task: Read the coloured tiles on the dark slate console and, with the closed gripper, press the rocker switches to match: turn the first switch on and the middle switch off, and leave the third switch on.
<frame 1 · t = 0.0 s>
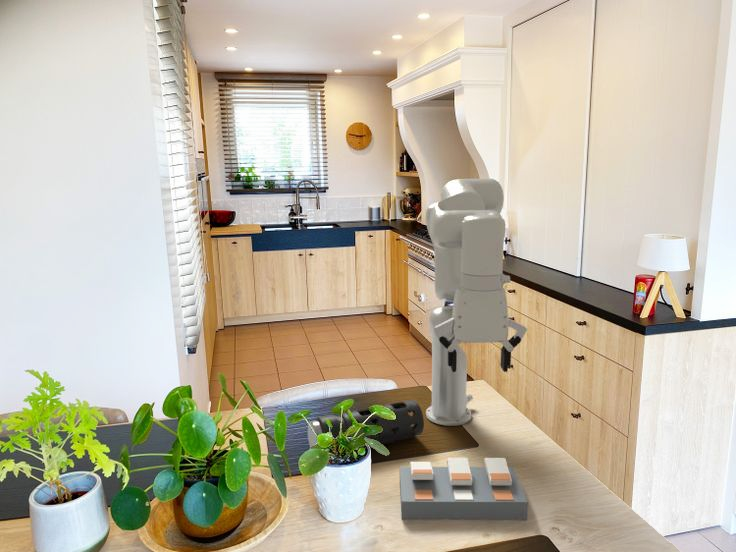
hand: (478, 369, 107), 31 cm above the table, tool pointing down, fingers open, 9 cm apart
switch 3: (497, 473, 119), point 5 cm above the table, hinge at 10.0°
switch 2: (459, 473, 119), point 5 cm above the table, hinge at 10.0°
switch 1: (421, 472, 119), point 5 cm above the table, hinge at -10.0°
muzzle brake: (366, 448, 141), on the table
console: (459, 500, 119), on the table
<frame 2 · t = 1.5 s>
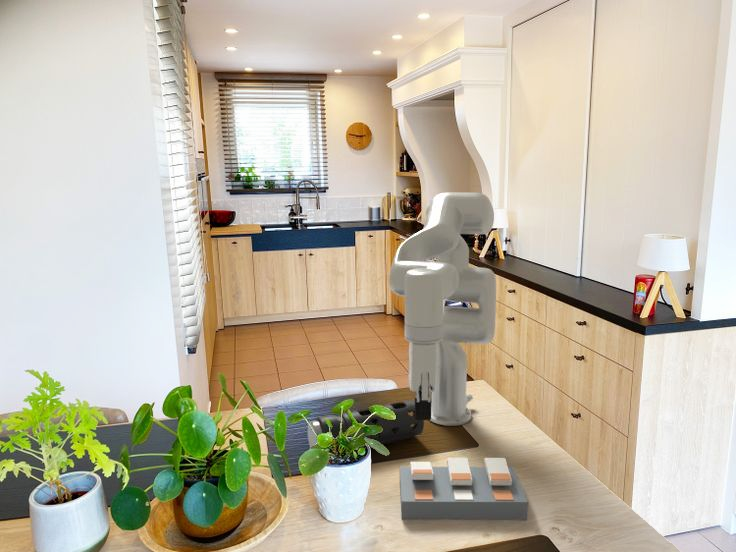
hand: (422, 417, 114), 19 cm above the table, tool pointing down, fingers closed
nothing on the table moved.
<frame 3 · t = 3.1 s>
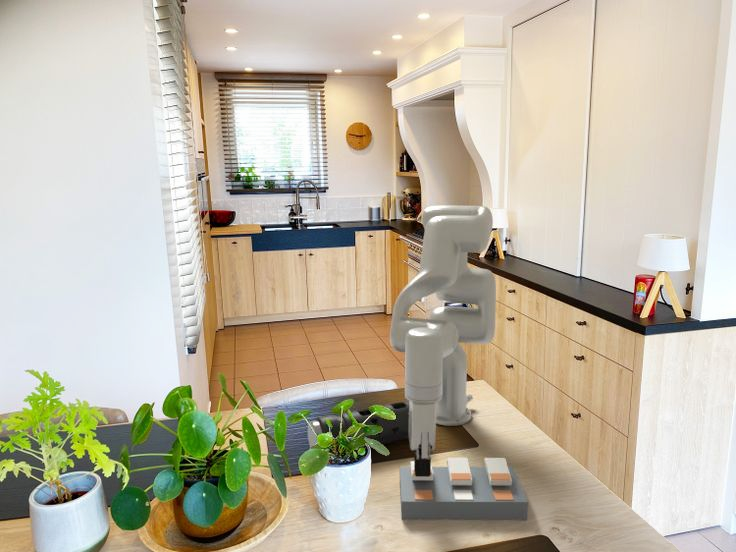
hand: (422, 473, 116), 7 cm above the table, tool pointing down, fingers closed
switch 1: (421, 472, 119), point 5 cm above the table, hinge at -8.1°, touching gripper
everything else where it was.
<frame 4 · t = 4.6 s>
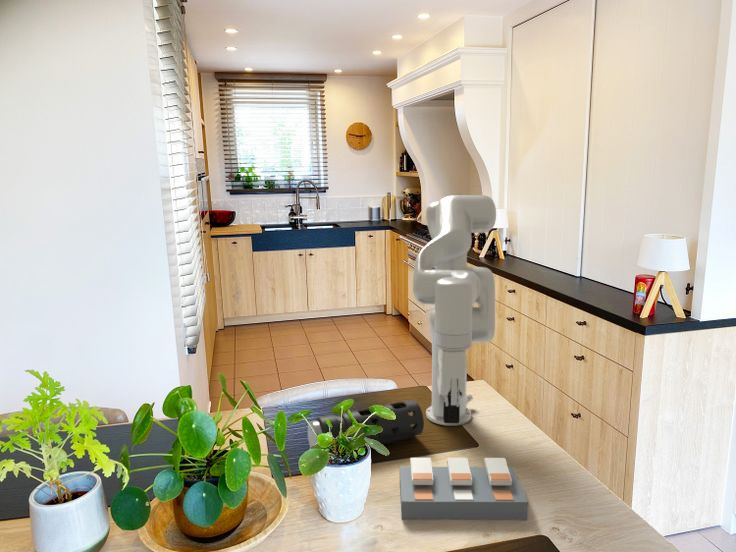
hand: (451, 421, 118), 17 cm above the table, tool pointing down, fingers closed
switch 1: (421, 472, 119), point 5 cm above the table, hinge at 9.6°
everything else where it was.
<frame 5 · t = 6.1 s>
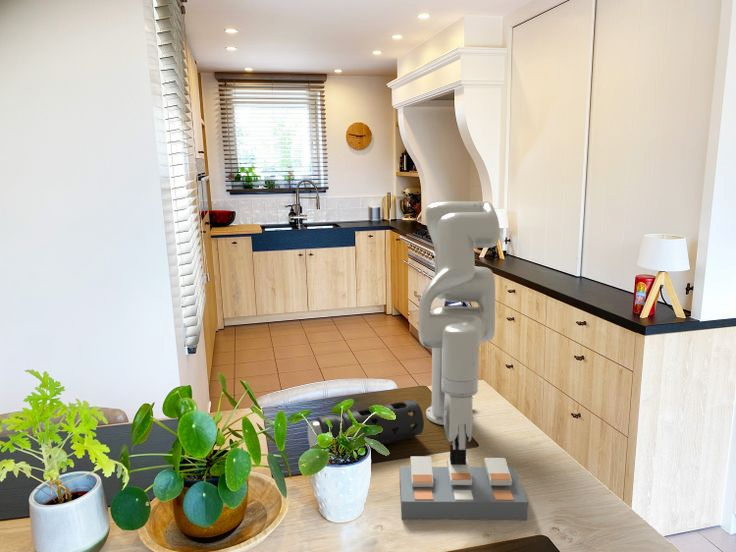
hand: (457, 463, 121), 7 cm above the table, tool pointing down, fingers closed
switch 2: (459, 473, 119), point 5 cm above the table, hinge at 8.9°, touching gripper
switch 1: (421, 473, 119), point 5 cm above the table, hinge at 18.8°
everything else where it was.
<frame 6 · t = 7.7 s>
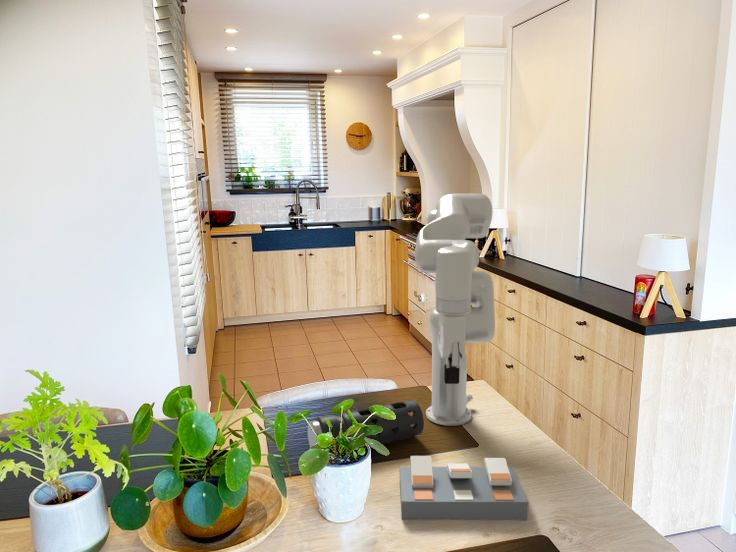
hand: (451, 382, 126), 22 cm above the table, tool pointing down, fingers closed
switch 2: (459, 473, 119), point 5 cm above the table, hinge at -16.1°
switch 1: (421, 473, 119), point 5 cm above the table, hinge at 23.6°, touching console
everything else where it was.
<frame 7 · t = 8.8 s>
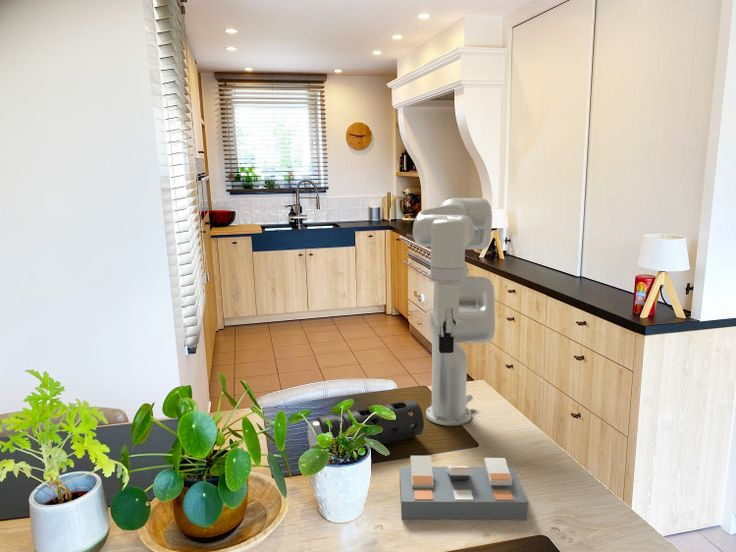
hand: (446, 351, 130), 27 cm above the table, tool pointing down, fingers closed
switch 2: (459, 473, 119), point 5 cm above the table, hinge at -25.0°, touching console
switch 1: (421, 473, 119), point 5 cm above the table, hinge at 25.5°, touching console
everything else where it was.
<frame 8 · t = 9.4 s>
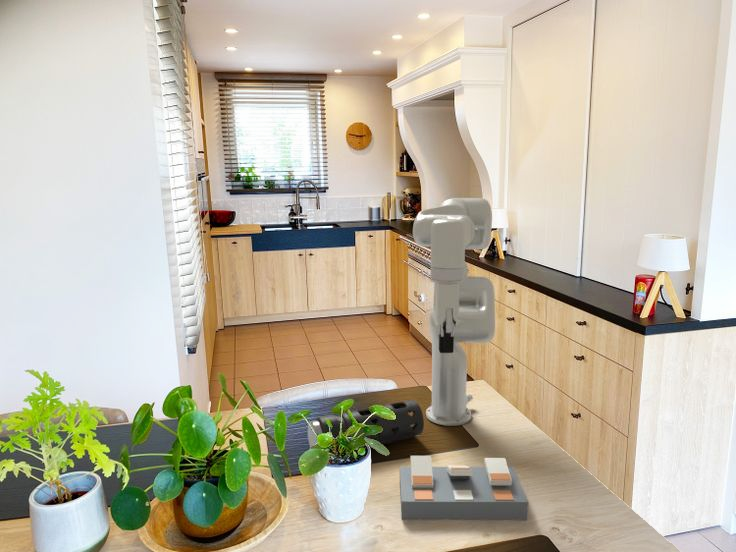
hand: (446, 351, 130), 27 cm above the table, tool pointing down, fingers closed
switch 2: (459, 473, 119), point 5 cm above the table, hinge at -23.7°, touching console
switch 1: (421, 473, 119), point 5 cm above the table, hinge at 25.0°, touching console
everything else where it was.
at the end: switch 1 at +25° (first picture: -10°); switch 2 at -23° (first picture: +10°); switch 3 at +10° (first picture: +10°) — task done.
